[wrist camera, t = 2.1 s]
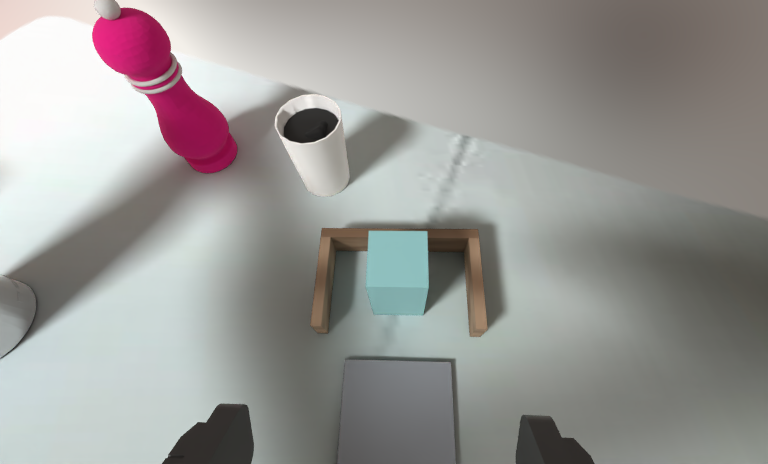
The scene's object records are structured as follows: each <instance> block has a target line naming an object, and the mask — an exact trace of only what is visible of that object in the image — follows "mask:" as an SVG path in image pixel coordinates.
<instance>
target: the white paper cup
mask: <svg viewBox="0 0 768 464" xmlns="http://www.w3.org/2000/svg"><path fill="white" fill-rule="evenodd" d="M275 128H276V130H277V132H278V134H279V136H280V138H281V140H282V142H283V144H284V146H285V148H286V150H287V151H288V153H289V155H290V157H291V159H292V161H293V163H294V165H295V167H296V169H297V171H298V173H299V175H300V177H301V179H302V180H303V182H304V184H305V186H306V188H307V190H308V191H309V192H311V193H312V194H313V195H316V196H320V197H328V196H333V195H335V194H338V193H340V192H341V191H342V190H343V189H344V188H345V187H346V186H347V184H348V182H349V179H350V172H349V165H348V158H347V151H346V145H345V138H344V131H343V124H342V117H341V111H340V109H339V107H338V106H337V104H336V102H335V101H333V100H331V99H330V98H328V97H326V96H322V95H317V94H309V95H301V96H299V97H296V98H294V99H291V100H289V101H288V102H287V103H286V104H284V105H283V106H282V107H281V108H280V110H279V111H278V113H277V115H276V117H275Z"/></svg>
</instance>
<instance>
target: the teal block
mask: <svg viewBox="0 0 768 464" xmlns="http://www.w3.org/2000/svg"><path fill="white" fill-rule="evenodd" d="M366 289H367V293H368V296H369V300H370V303H371V307H372V310H373V313H374V314H376V315H423V314H424V309H425V304H426V299H427V294H428V289H429V280H428V239H427V231H369V236H368V254H367V272H366Z"/></svg>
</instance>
